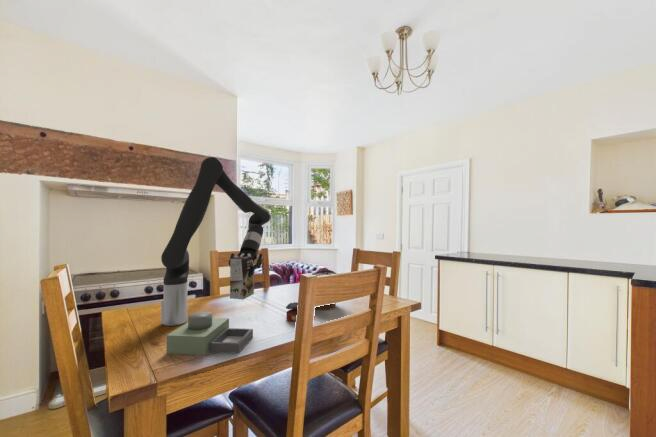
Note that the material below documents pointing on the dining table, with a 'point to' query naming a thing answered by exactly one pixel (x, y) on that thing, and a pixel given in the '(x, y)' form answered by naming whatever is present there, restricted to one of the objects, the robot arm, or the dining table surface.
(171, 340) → the grey-green blocky piece
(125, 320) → the dining table surface
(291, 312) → the canned food
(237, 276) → the coffee box
